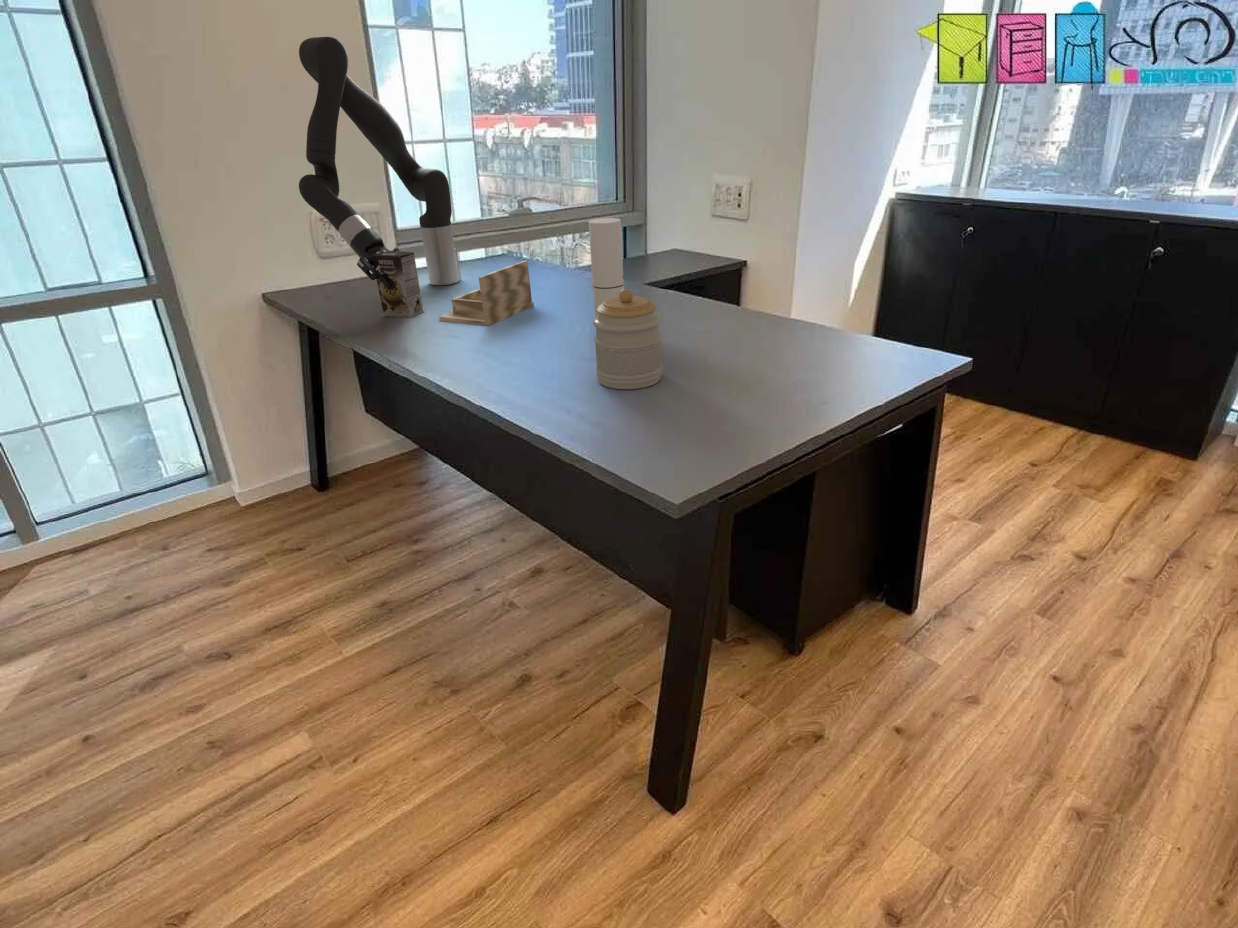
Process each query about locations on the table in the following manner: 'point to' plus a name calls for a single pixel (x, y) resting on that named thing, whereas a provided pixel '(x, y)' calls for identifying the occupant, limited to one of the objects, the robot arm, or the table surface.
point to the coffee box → (399, 284)
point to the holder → (494, 297)
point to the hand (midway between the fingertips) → (403, 284)
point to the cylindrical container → (606, 259)
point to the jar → (628, 342)
